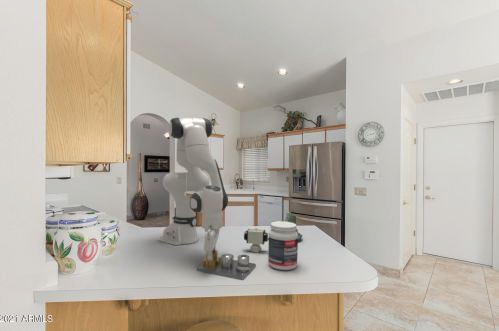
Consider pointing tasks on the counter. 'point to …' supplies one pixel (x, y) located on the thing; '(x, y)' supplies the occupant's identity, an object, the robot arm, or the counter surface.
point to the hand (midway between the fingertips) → (211, 254)
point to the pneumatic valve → (255, 238)
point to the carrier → (230, 267)
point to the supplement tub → (283, 245)
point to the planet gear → (214, 259)
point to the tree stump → (293, 220)
